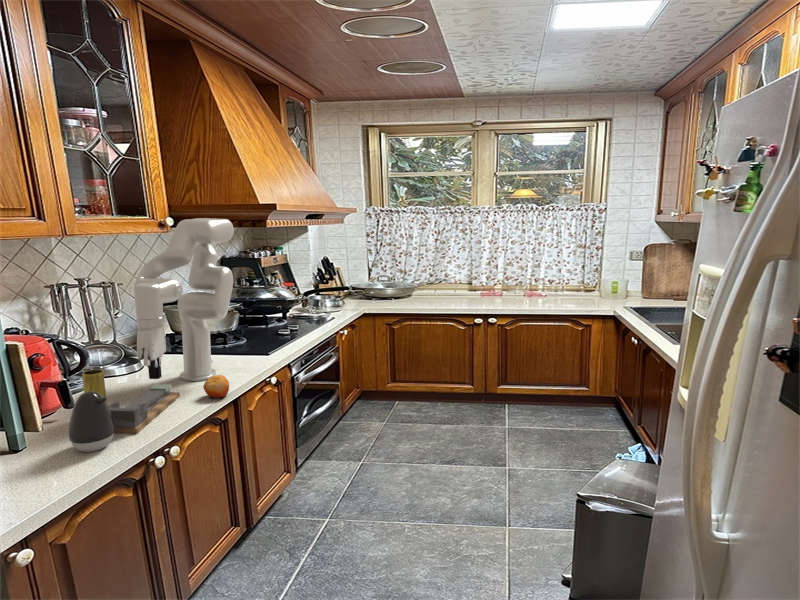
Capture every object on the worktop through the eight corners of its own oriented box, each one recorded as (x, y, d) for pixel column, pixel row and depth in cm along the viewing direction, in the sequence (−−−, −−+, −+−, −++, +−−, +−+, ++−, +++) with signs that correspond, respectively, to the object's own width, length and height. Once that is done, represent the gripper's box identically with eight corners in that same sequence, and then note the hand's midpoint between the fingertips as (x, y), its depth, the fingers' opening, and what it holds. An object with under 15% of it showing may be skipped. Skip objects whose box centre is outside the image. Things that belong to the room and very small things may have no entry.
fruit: (234, 386, 169) (230, 371, 164) (228, 404, 163) (224, 389, 158) (210, 385, 169) (205, 370, 164) (204, 404, 163) (198, 389, 158)
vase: (81, 423, 141) (77, 375, 138) (88, 414, 146) (84, 369, 144) (105, 421, 142) (101, 374, 140) (111, 413, 148) (107, 367, 146)
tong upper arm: (154, 388, 161) (154, 384, 161) (172, 389, 161) (172, 384, 161) (115, 417, 138) (115, 412, 138) (136, 417, 139) (136, 412, 138)
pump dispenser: (93, 459, 121) (87, 401, 118) (60, 453, 123) (54, 396, 121) (126, 441, 130) (122, 387, 128) (95, 436, 133) (90, 382, 130)
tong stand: (149, 396, 162) (148, 377, 161) (179, 396, 162) (178, 378, 161) (100, 433, 135) (98, 411, 134) (137, 433, 135) (135, 411, 134)
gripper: (150, 316, 159) (154, 369, 163) (125, 328, 144) (131, 387, 148) (173, 316, 159) (177, 370, 163) (151, 329, 144) (156, 387, 148)
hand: (155, 378), depth 155 cm, fingers closed
